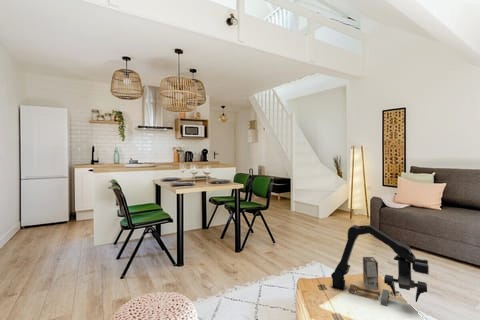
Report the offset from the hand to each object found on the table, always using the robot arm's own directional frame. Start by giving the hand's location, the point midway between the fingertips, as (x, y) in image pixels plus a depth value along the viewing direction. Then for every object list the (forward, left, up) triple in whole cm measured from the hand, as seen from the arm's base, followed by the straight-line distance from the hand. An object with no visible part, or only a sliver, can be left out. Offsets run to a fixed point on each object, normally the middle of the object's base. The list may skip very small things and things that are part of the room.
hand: (405, 299), depth 134 cm
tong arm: (-20, -1, -3) cm, 20 cm away
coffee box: (-18, +14, -4) cm, 23 cm away
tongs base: (-20, +1, -3) cm, 20 cm away
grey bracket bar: (-9, 0, -3) cm, 10 cm away
